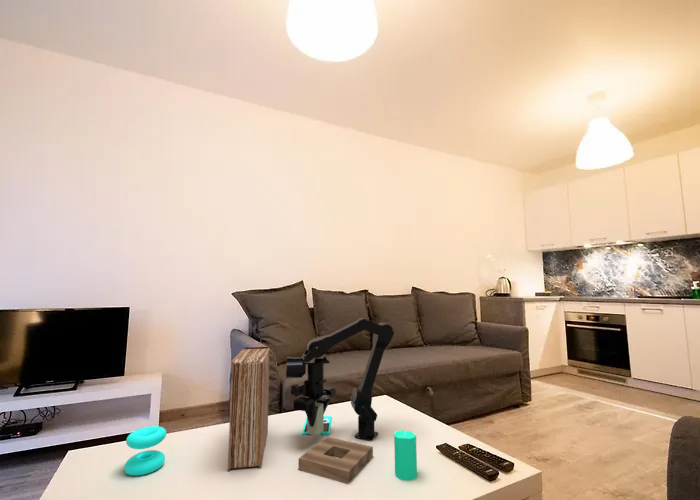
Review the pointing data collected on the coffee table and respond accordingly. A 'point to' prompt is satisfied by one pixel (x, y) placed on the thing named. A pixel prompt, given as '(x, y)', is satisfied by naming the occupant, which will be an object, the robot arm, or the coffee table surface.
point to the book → (249, 407)
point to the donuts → (146, 459)
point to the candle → (405, 455)
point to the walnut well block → (336, 459)
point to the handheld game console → (325, 426)
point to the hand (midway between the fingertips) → (315, 424)
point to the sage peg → (316, 422)
